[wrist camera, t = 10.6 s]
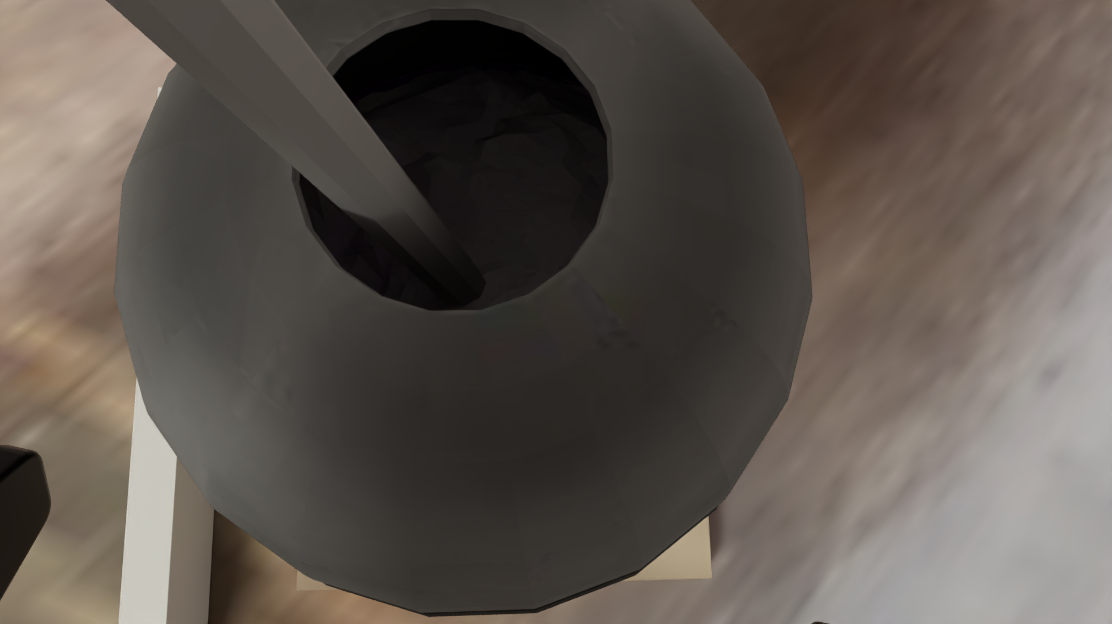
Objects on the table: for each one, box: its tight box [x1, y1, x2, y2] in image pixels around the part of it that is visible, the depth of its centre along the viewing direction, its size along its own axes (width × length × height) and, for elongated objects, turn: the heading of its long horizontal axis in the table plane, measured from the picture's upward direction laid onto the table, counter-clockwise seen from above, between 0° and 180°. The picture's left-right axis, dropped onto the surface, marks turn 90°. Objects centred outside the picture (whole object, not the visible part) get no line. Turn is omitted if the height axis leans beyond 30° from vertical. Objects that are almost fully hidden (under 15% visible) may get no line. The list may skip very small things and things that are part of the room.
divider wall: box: [119, 87, 214, 624], centre depth 20 cm, size 14×1×2 cm, turn 1°
